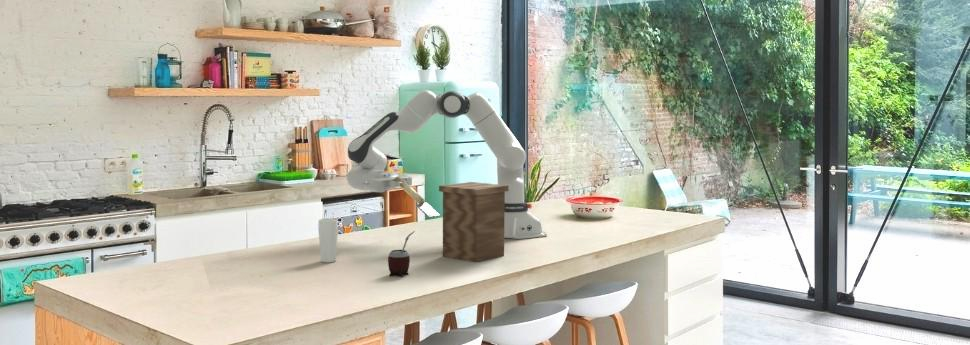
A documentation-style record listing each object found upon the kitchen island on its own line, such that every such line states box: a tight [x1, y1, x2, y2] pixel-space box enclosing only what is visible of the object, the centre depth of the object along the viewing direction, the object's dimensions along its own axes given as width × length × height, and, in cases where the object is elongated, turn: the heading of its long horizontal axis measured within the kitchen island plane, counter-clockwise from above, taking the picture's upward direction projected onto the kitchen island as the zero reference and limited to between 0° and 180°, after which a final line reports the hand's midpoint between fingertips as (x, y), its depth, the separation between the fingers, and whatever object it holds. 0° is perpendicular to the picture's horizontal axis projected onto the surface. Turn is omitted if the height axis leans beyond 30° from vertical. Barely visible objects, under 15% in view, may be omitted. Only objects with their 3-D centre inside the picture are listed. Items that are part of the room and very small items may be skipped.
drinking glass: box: [317, 217, 339, 264], centre depth 308 cm, size 7×7×15 cm
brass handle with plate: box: [394, 176, 441, 219], centre depth 337 cm, size 24×6×3 cm
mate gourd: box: [387, 230, 416, 278], centre depth 286 cm, size 8×8×15 cm
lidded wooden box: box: [438, 181, 509, 263], centre depth 319 cm, size 18×18×26 cm
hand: (403, 183), depth 340 cm, fingers closed on brass handle with plate, 3 cm apart
